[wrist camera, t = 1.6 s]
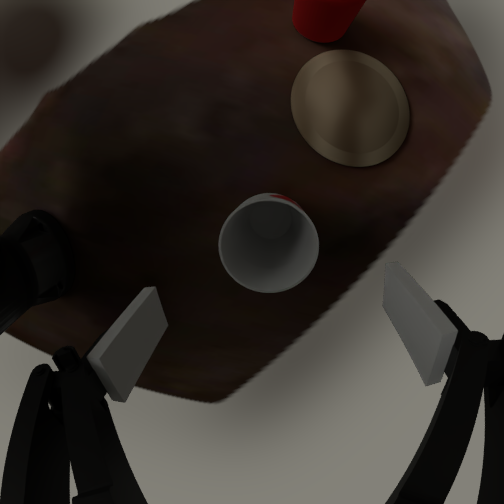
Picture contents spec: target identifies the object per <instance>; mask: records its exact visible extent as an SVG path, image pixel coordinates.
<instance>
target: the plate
mask: <svg viewBox="0 0 504 504" xmlns="http://www.w3.org/2000/svg"><path fill="white" fill-rule="evenodd" d="M291 110H292V115H293V119H294V121H295V124H296V126H297V128H298V130H299V132H300V134H301V135H302V137H303V138H304V139H305V141H306V142H307V143H308V144H309V145H310V146H311V147H312V148H313V149H314V150H315V151H316V152H318V153H319V154H321V155H322V156H323V157H325V158H327V159H329V160H331V161H333V162H336V163H339V164H343V165H347V166H354V167H364V166H371V165H375V164H378V163H380V162H382V161H384V160H386V159H388V158H389V157H390V156H392V155H393V154H394V153H395V152H396V151H397V150H398V149H399V148H400V146H401V144H402V143H403V141H404V139H405V137H406V135H407V131H408V127H409V120H410V112H409V105H408V100H407V97H406V94H405V92H404V90H403V88H402V86H401V84H400V82H399V81H398V79H397V78H396V77H395V75H394V74H393V73H392V72H391V71H390V70H389V69H388V68H387V67H386V66H385V65H383V64H382V63H381V62H380V61H378V60H376V59H375V58H373V57H371V56H369V55H367V54H364V53H361V52H358V51H353V50H332V51H327V52H324V53H321V54H319V55H317V56H315V57H314V58H312V59H311V60H309V61H308V62H307V63H306V64H305V65H304V66H303V67H302V69H301V70H300V71H299V73H298V75H297V76H296V78H295V81H294V84H293V87H292V92H291Z"/></svg>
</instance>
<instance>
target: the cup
mask: <svg viewBox="0 0 504 504" xmlns="http://www.w3.org/2000/svg"><path fill="white" fill-rule="evenodd" d="M318 252H319V240H318V234H317V231H316V229H315V226H314V224H313V223H312V221H311V219H310V218H309V217H308V216H307V214H306V213H305V212H304V211H303V209H302V208H301V207H300V206H299V205H298V204H297V203H296V202H295V201H293V200H292V199H290V198H288V197H286V196H283V195H280V194H275V193H264V194H259V195H255V196H253V197H251V198H249V199H247V200H246V201H244V202H243V203H242V204H241V205H240V206H239V207H238V208H237V209H236V210H235V211H233V212H232V213H231V215H230V216H229V217H228V218H227V220H226V221H225V223H224V225H223V227H222V229H221V232H220V236H219V254H220V258H221V261H222V263H223V265H224V267H225V269H226V271H227V272H228V273H229V275H230V276H231V277H232V278H233V279H234V280H235V281H237V282H238V283H239V284H241V285H242V286H244V287H246V288H248V289H251V290H254V291H258V292H264V293H275V292H281V291H285V290H288V289H290V288H292V287H294V286H296V285H298V284H299V283H300V282H302V281H303V280H304V279H305V278H306V277H307V276H308V275H309V273H310V272H311V271H312V269H313V267H314V265H315V263H316V260H317V257H318Z"/></svg>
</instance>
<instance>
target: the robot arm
mask: <svg viewBox="0 0 504 504" xmlns="http://www.w3.org/2000/svg"><path fill="white" fill-rule="evenodd" d="M74 273H75V266H74V258H73V253H72V250H71V247H70V244H69V241H68V239H67V237H66V235H65V233H64V231H63V229H62V228H61V226H60V225H59V224H58V223H57V221H56V220H55V219H54V218H53V217H52V216H50V215H49V214H48V213H46V212H44V211H41V210H32V211H29V212H27V213H24V214H22V215H21V216H19V217H18V218H17V219H16V220H15V221H14V222H13V223H12V224H11V225H10V226H9V227H8V228H7V229H6V230H5V232H4V233H3V234H2V235H1V236H0V335H1V334H2V333H3V332H4V331H5V330H6V329H7V328H8V327H9V326H10V325H11V324H13V323H14V322H15V321H16V320H17V319H18V318H19V317H20V316H21V315H23V314H24V313H25V312H26V311H27V310H28V309H29V308H31V307H32V306H36V305H39V304H43V303H46V302H50V301H54V300H56V299H58V298H60V297H61V296H62V295H64V294H65V293H66V292H67V291H68V290H69V289H70V287H71V286H72V283H73V280H74ZM383 308H384V309H385V311H386V313H387V315H388V316H389V318H390V320H391V321H392V323H393V325H394V327H395V329H396V330H397V332H398V334H399V336H400V337H401V339H402V341H403V343H404V345H405V347H406V349H407V350H408V352H409V354H410V356H411V358H412V360H413V362H414V364H415V366H416V368H417V370H418V372H419V374H420V376H421V378H422V380H423V382H424V384H425V386H428V385H432V384H435V383H438V382H441V379H442V377H443V374H444V372H445V374H446V375H447V377H448V379H447V382H446V385H445V386H444V389H443V391H442V393H441V398H440V401H439V403H438V406H437V408H436V411H435V413H434V416H433V418H432V420H431V423H430V425H429V427H428V429H427V432H426V434H425V436H424V438H423V440H422V442H421V444H420V446H419V448H418V450H417V452H416V454H415V456H414V458H413V459H412V461H411V463H410V465H409V467H408V468H407V470H406V472H405V474H404V475H403V477H402V478H401V480H400V482H399V483H398V485H397V487H396V488H395V490H394V491H393V493H392V494H391V496H390V497H389V499H388V500H387V502H386V503H385V504H444V501H445V499H446V497H447V495H448V493H449V491H450V489H451V487H452V485H453V482H454V480H455V478H456V476H457V473H458V471H459V468H460V466H461V463H462V460H463V458H464V455H465V453H466V450H467V447H468V444H469V441H470V438H471V435H472V431H473V428H474V425H475V421H476V417H477V414H478V409H479V406H480V401H481V397H482V392H483V387H484V401H485V443H484V457H483V468H482V477H481V483H480V490H479V495H478V501H477V504H504V334H503V337H502V339H501V340H489V339H488V337H487V336H486V335H484V334H483V333H481V332H478V331H470V330H469V329H468V327H467V326H466V325H465V324H464V323H463V321H462V320H461V319H460V318H459V317H458V316H457V315H456V313H455V312H454V311H453V310H452V309H451V308H450V307H449V306H448V304H446V303H444V302H443V301H441V300H435V301H433V300H432V299H431V298H430V296H429V295H428V294H427V293H426V292H425V291H424V290H423V288H422V287H421V286H420V285H419V284H418V283H417V282H416V281H415V280H414V279H413V277H411V275H410V274H409V273H408V272H407V271H406V270H405V269H404V268H403V267H402V266H401V265H400V264H399V263H398V262H392V263H386V264H385V284H384V297H383ZM167 326H168V323H167V320H166V318H165V315H164V312H163V309H162V306H161V303H160V299H159V296H158V293H157V290H156V287H145V288H144V289H143V290H142V291H141V292H140V293H139V294H138V296H137V297H136V298H135V299H134V300H133V301H132V302H131V304H130V305H129V306H128V307H127V308H126V309H125V311H124V312H123V313H122V314H121V315H120V317H119V318H118V319H117V320H116V321H115V322H114V324H113V325H112V326H111V327H110V329H108V330H106V331H105V332H104V333H102V334H101V335H100V336H99V337H98V339H97V340H96V341H95V342H94V344H93V346H91V347H90V348H89V350H88V351H87V352H86V353H85V355H84V356H83V357H82V358H81V359H80V357H79V355H78V353H77V352H76V350H75V348H74V347H73V346H65V347H62V348H60V349H59V350H57V351H56V352H55V353H54V355H53V357H52V359H53V361H54V363H55V364H56V366H57V368H58V369H59V371H52V369H51V367H50V366H49V365H48V364H41V365H38V366H36V367H35V368H34V369H33V370H32V372H31V374H30V377H29V380H28V382H27V385H26V388H25V391H24V393H23V397H22V399H21V402H20V406H19V409H18V413H17V416H16V419H15V422H14V426H13V430H12V434H11V438H10V442H9V446H8V451H7V457H6V461H5V466H4V472H3V479H2V487H1V496H0V504H70V489H69V488H70V462H71V466H72V471H73V475H74V479H75V483H76V487H77V490H78V495H77V496H75V497H73V498H72V504H148V503H147V501H146V499H145V498H144V495H143V493H142V492H141V489H140V487H139V485H138V483H137V481H136V479H135V477H134V474H133V472H132V470H131V468H130V466H129V463H128V460H127V458H126V456H125V453H124V451H123V448H122V445H121V443H120V440H119V438H118V434H117V432H116V429H115V426H114V423H113V420H112V417H111V413H110V410H109V407H108V403H107V401H106V400H105V398H104V396H105V395H106V393H108V394H109V396H110V397H111V399H112V400H113V401H118V402H126V400H127V398H128V396H129V394H130V393H131V391H132V389H133V387H134V385H135V383H136V382H137V380H138V378H139V376H140V374H141V372H142V371H143V369H144V367H145V365H146V363H147V362H148V360H149V358H150V356H151V355H152V353H153V351H154V349H155V347H156V346H157V344H158V342H159V340H160V339H161V337H162V335H163V333H164V332H165V330H166V328H167ZM48 403H49V404H50V405H51V409H49V406H48Z"/></svg>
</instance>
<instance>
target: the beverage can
mask: <svg viewBox="0 0 504 504" xmlns="http://www.w3.org/2000/svg"><path fill="white" fill-rule="evenodd" d="M365 1H366V0H295V2H294V9H293V17H292V20H293V24H294V27H295V29H296V30H297V31H298V32H299V33H300V34H301V35H302V36H303V37H305V38H307V39H309V40H311V41H315V42H321V43H327V42H333V41H336V40H338V39H340V38H341V37H342V36H343V35H344V34H345V32H346V31H347V29H348V27H349V26H350V24H351V23H352V21H353V20H354V18H355V17H356V15H357V14H358V12H359V11H360V9H361V7H362V6H363V4H364V3H365Z"/></svg>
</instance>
